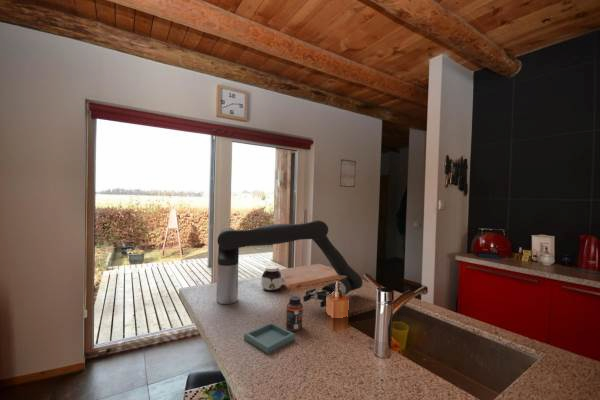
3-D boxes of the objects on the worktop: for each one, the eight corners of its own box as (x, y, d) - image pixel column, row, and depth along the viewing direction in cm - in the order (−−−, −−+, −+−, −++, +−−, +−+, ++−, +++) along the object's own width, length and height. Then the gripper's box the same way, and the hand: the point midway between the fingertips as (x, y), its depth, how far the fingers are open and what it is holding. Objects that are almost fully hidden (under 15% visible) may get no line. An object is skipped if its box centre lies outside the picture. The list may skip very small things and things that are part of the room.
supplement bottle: (300, 333, 98) (301, 301, 98) (284, 331, 99) (285, 299, 99) (303, 325, 104) (304, 295, 103) (288, 323, 105) (288, 294, 105)
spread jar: (260, 291, 140) (260, 268, 140) (266, 284, 151) (266, 263, 151) (282, 292, 138) (283, 269, 138) (287, 285, 149) (288, 264, 149)
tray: (244, 340, 92) (244, 333, 92) (271, 328, 101) (271, 322, 101) (267, 354, 84) (267, 347, 84) (294, 340, 93) (294, 333, 93)
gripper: (320, 279, 127) (298, 288, 114) (348, 286, 118) (327, 296, 105) (320, 295, 127) (298, 306, 114) (347, 303, 118) (327, 316, 105)
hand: (312, 301), depth 110 cm, fingers open, 8 cm apart
